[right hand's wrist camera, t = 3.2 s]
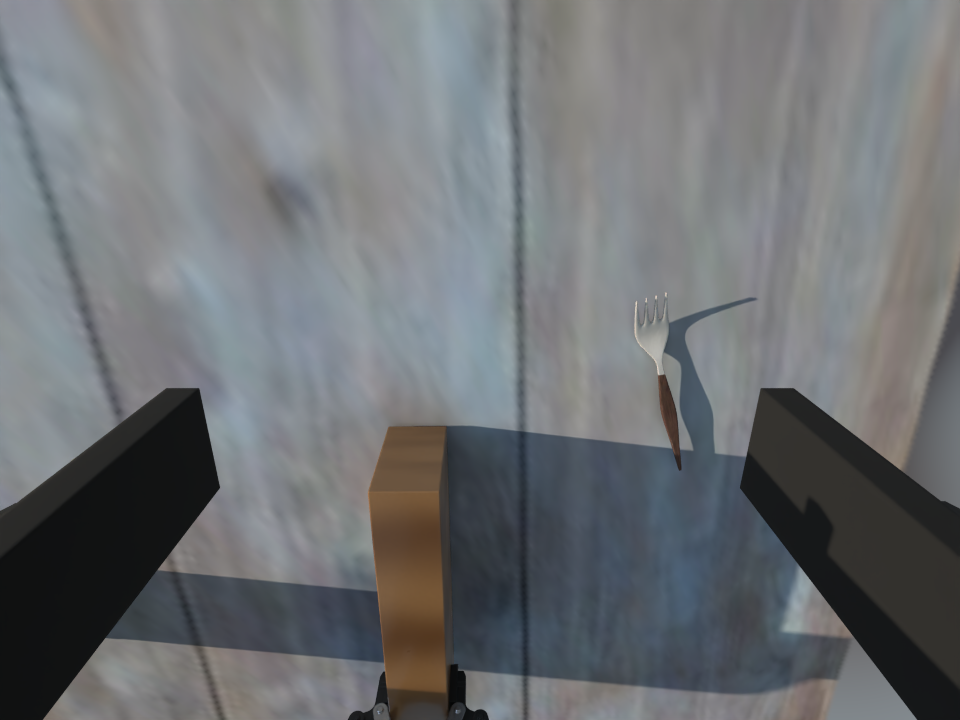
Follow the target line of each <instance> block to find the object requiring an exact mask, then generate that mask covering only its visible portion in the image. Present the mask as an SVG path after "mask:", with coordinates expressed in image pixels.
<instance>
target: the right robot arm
mask: <svg viewBox="0 0 960 720" xmlns="http://www.w3.org/2000/svg"><path fill="white" fill-rule="evenodd" d="M219 489H220V485H219V481H218V476H217V471H216V466H215V461H214V457H213V452H212V447H211V442H210V438H209V433H208V428H207V423H206V419H205V414H204V409H203V404H202V400H201V395H200V390H199V388H166V389H165V390H164V391H162V392H161V393H160V394H158V395H157V396H156V397H154V398H153V399H152V400H150V401H149V402H148V403H147V404H145V405H144V406H143V407H141V408H140V409H139V410H137V411H136V412H135V413H134V414H132V415H131V416H130V417H128V418H127V419H126V420H124V421H123V422H122V423H120V424H119V425H118V426H117V427H115V428H114V429H113V430H111V431H110V432H109V433H107V434H106V435H105V436H104V437H102V438H101V439H100V440H98V441H97V442H96V443H94V444H93V445H92V446H91V447H89V448H88V449H87V450H85V451H84V452H83V453H81V454H80V455H79V456H77V457H76V458H75V459H74V460H72V461H71V462H70V463H68V464H67V465H66V466H64V467H63V468H62V469H61V470H59V471H58V472H57V473H55V474H54V475H53V476H51V477H50V478H49V479H47V480H46V481H45V482H44V483H42V484H41V485H40V486H38V487H37V488H36V489H34V490H33V491H32V492H31V493H29V494H28V495H27V496H25V497H24V498H23V499H21V500H20V501H19V502H17V503H15V504H13V505H11V506H9V507H7V508H5V509H3V510H1V511H0V720H43V719H44V717H45V716H46V715H47V713H48V712H49V711H50V710H51V708H52V707H53V706H54V704H55V703H56V702H57V700H58V699H59V698H60V696H61V695H62V694H63V693H64V691H65V690H66V689H67V687H68V686H69V685H70V683H71V682H72V681H73V679H74V678H75V677H76V676H77V674H78V673H79V672H80V670H81V669H82V668H83V666H84V665H85V664H86V662H87V661H88V660H89V659H90V657H91V656H92V655H93V653H94V652H95V651H96V649H97V648H98V647H99V645H100V644H101V643H102V642H103V640H104V639H105V638H106V636H107V635H108V634H109V632H110V631H111V630H112V628H113V627H114V626H115V625H116V623H117V622H118V621H119V619H120V618H121V617H122V615H123V614H124V613H125V611H126V610H127V609H128V608H129V606H130V605H131V604H132V602H133V601H134V600H135V598H136V597H137V596H138V594H139V593H140V592H141V591H142V589H143V588H144V587H145V585H146V584H147V583H148V581H149V580H150V579H151V577H152V576H153V575H154V574H155V572H156V571H157V570H158V568H159V567H160V566H161V564H162V563H163V562H164V560H165V559H166V558H167V557H168V555H169V554H170V553H171V551H172V550H173V549H174V547H175V546H176V545H177V543H178V542H179V541H180V540H181V538H182V537H183V536H184V534H185V533H186V532H187V530H188V529H189V528H190V526H191V525H192V524H193V523H194V521H195V520H196V519H197V517H198V516H199V515H200V513H201V512H202V511H203V509H204V508H205V507H206V506H207V504H208V503H209V502H210V500H211V499H212V498H213V496H214V495H215V494H216V492H217V491H218V490H219ZM740 489H741V490H742V491H743V492H744V494H745V495H746V496H747V498H748V499H749V500H750V502H751V503H752V504H753V506H754V507H755V508H756V509H757V511H758V512H759V513H760V515H761V516H762V517H763V519H764V520H765V521H766V523H767V524H768V525H769V526H770V528H771V529H772V530H773V532H774V533H775V534H776V536H777V537H778V538H779V540H780V541H781V542H782V543H783V545H784V546H785V547H786V549H787V550H788V551H789V553H790V554H791V555H792V557H793V558H794V559H795V560H796V562H797V563H798V564H799V566H800V567H801V568H802V570H803V571H804V572H805V574H806V575H807V576H808V577H809V579H810V580H811V581H812V583H813V584H814V585H815V587H816V588H817V589H818V591H819V592H820V593H821V594H822V596H823V597H824V598H825V600H826V601H827V602H828V604H829V605H830V606H831V608H832V609H833V610H834V611H835V613H836V614H837V615H838V617H839V618H840V619H841V621H842V622H843V623H844V625H845V626H846V627H847V628H848V630H849V631H850V632H851V634H852V635H853V636H854V638H855V639H856V640H857V642H858V643H859V644H860V645H861V647H862V648H863V649H864V651H865V652H866V653H867V655H868V656H869V657H870V658H871V660H872V661H873V662H874V664H875V665H876V666H877V668H878V669H879V670H880V672H881V673H882V674H883V676H884V677H885V678H886V679H887V681H888V682H889V683H890V685H891V686H892V687H893V689H894V690H895V691H896V693H897V694H898V695H899V696H900V698H901V699H902V700H903V702H904V703H905V704H906V706H907V707H908V708H909V710H910V711H911V712H912V713H913V715H914V716H915V717H916V719H917V720H960V509H959V508H957V507H955V506H953V505H951V504H949V503H948V502H945V501H940V500H939V499H937V498H936V497H935V496H933V495H932V494H931V493H929V492H928V491H927V490H926V489H924V488H923V487H922V486H920V485H919V484H918V483H916V482H915V481H914V480H913V479H911V478H910V477H909V476H907V475H906V474H905V473H903V472H902V471H901V470H899V469H898V468H897V467H896V466H894V465H893V464H892V463H890V462H889V461H888V460H886V459H885V458H884V457H883V456H881V455H880V454H879V453H877V452H876V451H875V450H873V449H872V448H871V447H869V446H868V445H867V444H866V443H864V442H863V441H862V440H860V439H859V438H858V437H856V436H855V435H854V434H853V433H851V432H850V431H849V430H847V429H846V428H845V427H843V426H842V425H841V424H840V423H838V422H837V421H836V420H834V419H833V418H832V417H830V416H829V415H828V414H826V413H825V412H824V411H823V410H821V409H820V408H819V407H817V406H816V405H815V404H813V403H812V402H811V401H810V400H808V399H807V398H806V397H804V396H803V395H802V394H800V393H799V392H798V391H796V390H795V389H794V388H761V390H760V395H759V399H758V404H757V409H756V414H755V419H754V423H753V428H752V433H751V438H750V442H749V447H748V452H747V457H746V461H745V466H744V471H743V476H742V481H741V485H740Z"/></svg>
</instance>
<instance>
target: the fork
mask: <svg viewBox="0 0 960 720" xmlns="http://www.w3.org/2000/svg"><path fill="white" fill-rule="evenodd" d="M668 335H669V320H668V308H667V292H666V293H665V301H664V309H663V317H662V319H659V317H658V304H657V295H656V298H655V306H654V317H653V321H652V322H650V321H649V315H648V303H647V298H646V302H645V313H644V323H643V324H642V325H641V324H640V321H639V313H638V301H636V308H635V337H636V340H637V341H638V343H639V344H640V346H641V347H642V348H643V349H644V350H645V351H646V352H647V353H648V354H649V355H650V356H651V357H652V358H653V359H654V360H655V362H656V364H657V369H658V381H659V397H660V408H661V414H662V418H663V421H664V424H665V427H666V430H667V433H668V436H669V439H670V442H671V445H672V449H673V452H674V456H675V459H676V462H677V466H678V469H679V471H680V470H681V458H680V447H679V434H678V420H677V412H676V408H675V404H674V401H673V398H672V394H671V391H670V388H669V385H668V382H667V379H666V376H665V373H664V370H663V365H662V357H663V353H664V349H665V346H666V343H667V339H668Z"/></svg>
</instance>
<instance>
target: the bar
mask: <svg viewBox="0 0 960 720" xmlns="http://www.w3.org/2000/svg"><path fill="white" fill-rule="evenodd" d="M368 499H369V509H370V519H371V530H372V540H373V550H374V561H375V571H376V581H377V592H378V602H379V612H380V623H381V633H382V643H383V654H384V664H385V674H386V685H387V695H388V705H389V716H390V720H446V719H447V716H448V714H449V687H450V667H451V664H454V647H453V615H452V583H451V551H450V518H449V486H448V454H447V427H446V426H422V427H388V430H387V433H386V436H385V440H384V443H383V446H382V449H381V452H380V456H379V459H378V462H377V465H376V468H375V471H374V475H373V478H372V481H371V484H370V487H369V491H368Z"/></svg>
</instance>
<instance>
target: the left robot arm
mask: <svg viewBox="0 0 960 720" xmlns="http://www.w3.org/2000/svg"><path fill="white" fill-rule="evenodd" d="M348 720H390V716H389V705H388V695H387V685H386V674H385V672H383V673H382V675H381V676H380V680H379V686H378V691H377V697H376V702H375V706H374V707H373V708H372V709H371V710H370V711H368V712H365V713H362V712H361V711H355V712H353V713H352V714H351V715H350V716H349V718H348ZM446 720H489V718H488V715H487V713H486V711H484V710H481V709H479V710H476V711H475V712H474V711H471V710H469V709H468V708H467V707H466V676H465V673H464V671H458V664H451V667H450V687H449V714H448V716H447V719H446Z"/></svg>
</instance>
